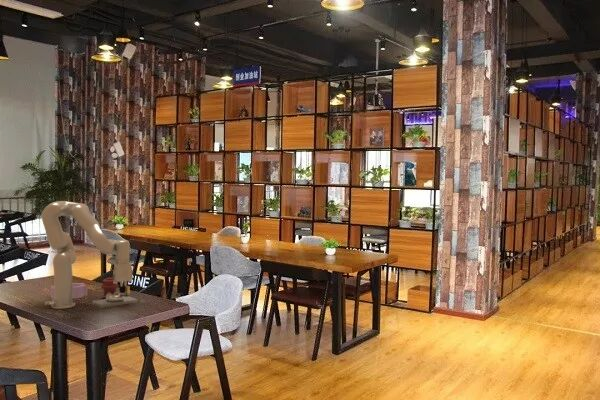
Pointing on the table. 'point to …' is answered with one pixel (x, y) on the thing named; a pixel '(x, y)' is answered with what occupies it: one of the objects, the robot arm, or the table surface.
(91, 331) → the table surface
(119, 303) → the base plate
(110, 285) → the mechanical component
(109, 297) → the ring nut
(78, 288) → the pink rectangular box
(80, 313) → the table surface
